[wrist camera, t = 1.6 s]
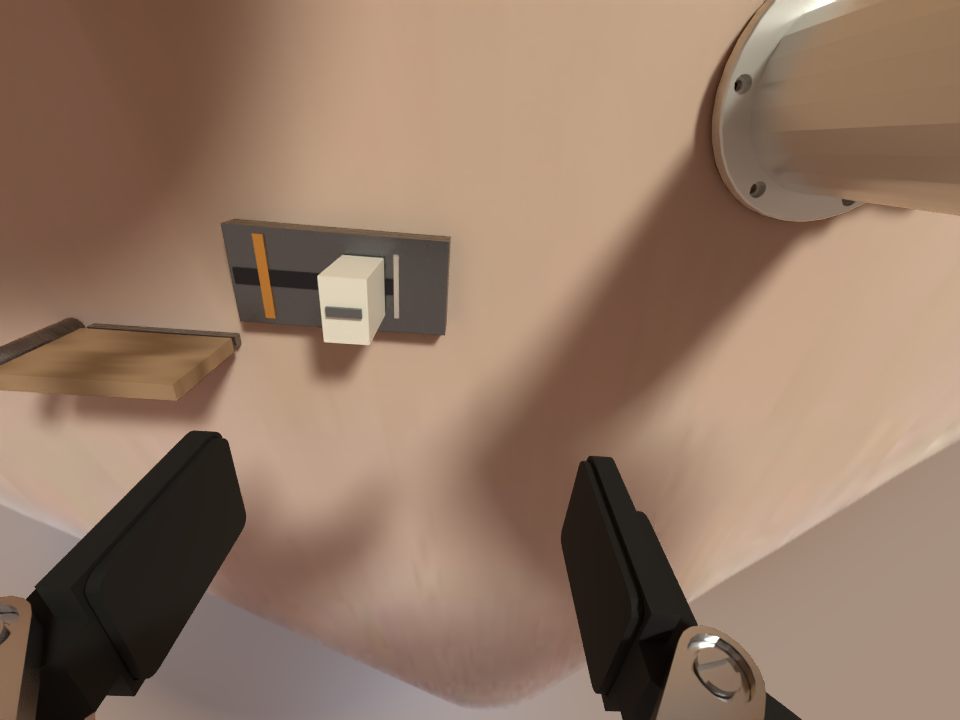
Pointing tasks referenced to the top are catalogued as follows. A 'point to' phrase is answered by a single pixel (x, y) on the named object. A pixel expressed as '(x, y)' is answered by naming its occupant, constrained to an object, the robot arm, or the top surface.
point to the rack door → (117, 364)
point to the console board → (311, 249)
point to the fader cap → (352, 299)
